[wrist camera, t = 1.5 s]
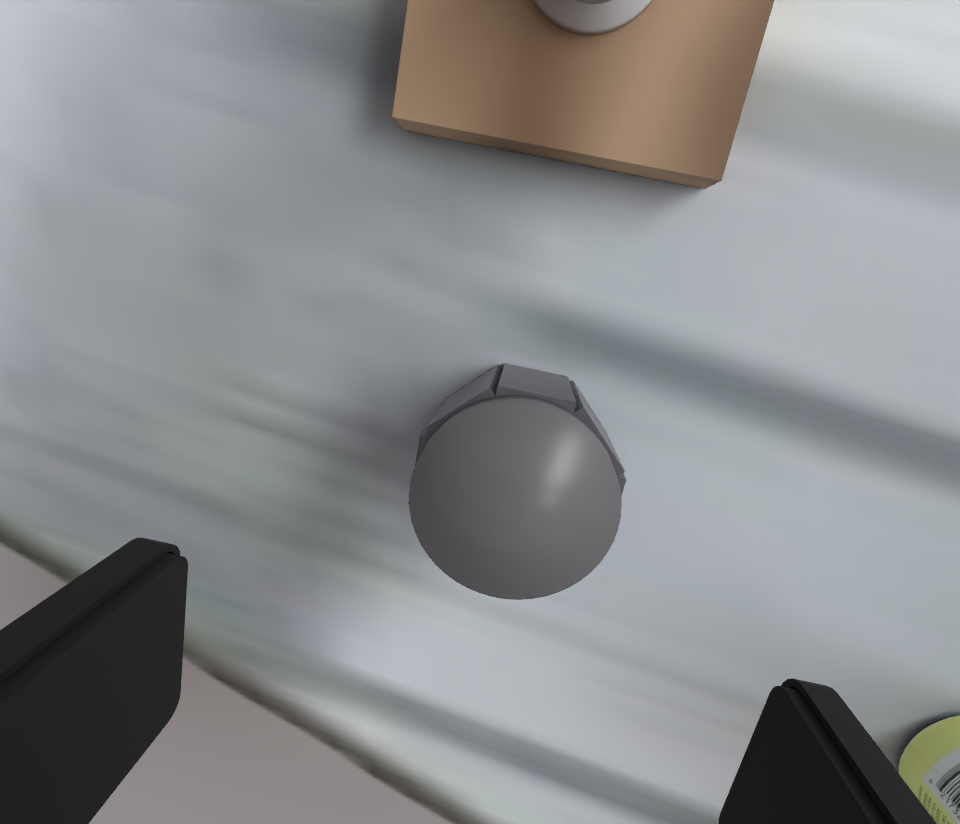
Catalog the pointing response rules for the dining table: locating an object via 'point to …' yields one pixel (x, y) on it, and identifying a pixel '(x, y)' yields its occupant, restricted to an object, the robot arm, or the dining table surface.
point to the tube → (935, 769)
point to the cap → (516, 485)
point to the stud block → (584, 79)
